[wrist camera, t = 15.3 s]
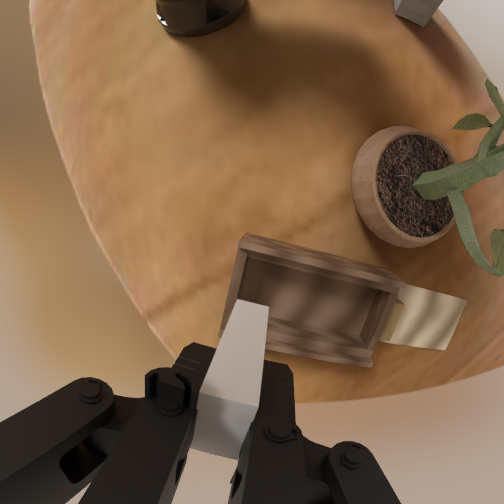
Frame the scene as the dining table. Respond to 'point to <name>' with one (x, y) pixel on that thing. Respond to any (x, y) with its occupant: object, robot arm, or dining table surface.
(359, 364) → the box
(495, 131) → the potted plant
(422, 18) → the skincare box
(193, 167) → the dining table surface
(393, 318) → the lid
